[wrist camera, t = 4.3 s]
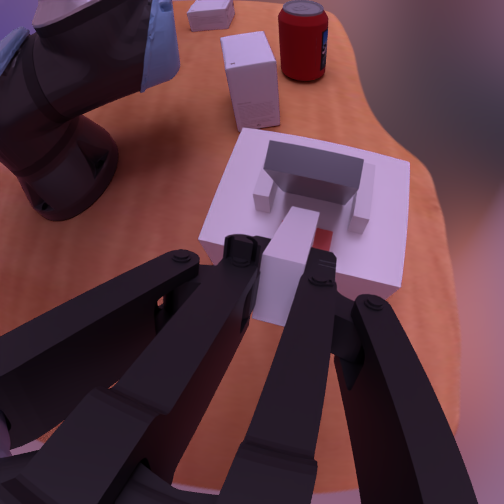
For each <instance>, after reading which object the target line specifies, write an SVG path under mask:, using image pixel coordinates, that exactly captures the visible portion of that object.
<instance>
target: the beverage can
mask: <svg viewBox="0 0 504 504" xmlns="http://www.w3.org/2000/svg"><path fill="white" fill-rule="evenodd" d="M278 22H279V41H280V57H281V69H282V72H283V73H284V74H285V75H286V76H288V77H290V78H293V79H296V80H300V81H309V80H314V79H317V78H319V77H321V76H322V75H323V74H324V72H325V65H326V53H327V37H328V16H327V15H326V13H325V11H324V10H323V6H322V5H320V4H319V3H317V2H313V1H309V0H293V1H289V2H286V3H285V4H284V5H283V8H282V10H281V11H280V13H279V15H278Z"/></svg>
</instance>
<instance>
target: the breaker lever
mask: <svg viewBox="0 0 504 504" xmlns="http://www.w3.org/2000/svg"><path fill="white" fill-rule="evenodd" d="M363 163H364V159H361V158H357V157H352V156H348V155H344V154H339V153H335V152H330V151H325V150H321V149H316V148H311V147H306V146H300V145H295V144H290V143H284V142H278V141H272V140H270V141H269V145H268V150H267V154H266V159H265V163H264V168H263V169H264V170H265V171H266V173H267V174H268V175H269V176H270V177H271V178H272V180H273V181H274V182H275V183H276V184H277V185H278V187H279V188H280V189H281V190H282V191H283V192H287V193H291V194H296V195H301V196H305V197H310V198H315V199H319V200H323V201H328V202H332V203H337V204H341V205H346V204H347V202H348V201H349V200H350V199H351V198H352V197H353V195H354V194H355V193H356V192H357V191H358V189H359V185H360V180H361V174H362V169H363Z"/></svg>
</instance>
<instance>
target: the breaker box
mask: <svg viewBox="0 0 504 504" xmlns="http://www.w3.org/2000/svg"><path fill="white" fill-rule="evenodd" d="M270 140H272V141H278V142H284V143H290V144H295V145H300V146H306V147H311V148H316V149H321V150H325V151H330V152H335V153H339V154H344V155H348V156H352V157H357V158H361V159H364V163H363V169H362V174H361V180H360V185H359V189H358V191H357V192H356V193H355V194H354V195H353V197H352V198H351V199H350V200H349V201H348V202H347V204H346V205H341V204H337V203H332V202H328V201H323V200H319V199H315V198H310V197H305V196H301V195H296V194H291V193H287V192H283V191H282V190H281V189H280V188H279V187H278V185H277V184H276V183H275V182H274V181H273V180H272V178H271V177H270V176H269V175H268V174H267V173H266V171H265V170H264V169H263V168H264V163H265V159H266V154H267V150H268V145H269V141H270ZM409 180H410V162H407V161H404V160H400V159H396V158H393V157H389V156H385V155H382V154H378V153H374V152H370V151H366V150H362V149H357V148H353V147H349V146H344V145H340V144H335V143H331V142H326V141H321V140H316V139H311V138H306V137H300V136H295V135H289V134H283V133H277V132H271V131H265V130H258V129H251V128H242V131H241V133H240V135H239V138H238V140H237V142H236V145H235V147H234V150H233V152H232V154H231V157H230V159H229V162H228V164H227V166H226V169H225V171H224V174H223V176H222V179H221V181H220V184H219V186H218V189H217V191H216V194H215V196H214V199H213V201H212V204H211V207H210V209H209V212H208V214H207V217H206V220H205V222H204V225H203V227H202V230H201V233H200V235H199V238H198V240H199V242H200V243H201V245H202V246H203V248H204V250H205V251H206V253H207V254H208V256H209V258H210V259H211V261H212V262H213V264H214V265H217V264H218V263H219V262H220V261H221V260H222V258H223V250H224V241H225V237H226V236H228V235H232V234H245V235H250V236H256V235H257V236H261V237H266V238H270V239H272V238H273V236H274V235H275V233H276V231H277V230H278V228H279V227H280V225H281V223H282V222H283V220H284V218H285V217H286V215H287V214H288V212H289V210H290V209H291V207H292V206H293V207H298V208H303V209H307V210H312V211H316V212H320V214H319V218H318V223H317V228H316V232H315V237H314V241H313V246H312V247H313V248H317V249H321V250H325V251H329V252H333V253H334V255H335V256H336V258H337V262H336V275H335V282H336V284H337V291H338V292H339V293H340V294H341V295H343V296H344V297H346V298H348V299H351V300H353V301H355V299H356V297H357V296H358V295H361V294H371V295H377V296H378V297H381V298H383V299H384V300H386V299H387V298H388V297H389V296H391V295H392V294H393V293H394V292H396V291H397V290H398V289H399V288H401V281H402V273H403V265H404V256H405V246H406V235H407V222H408V206H409Z"/></svg>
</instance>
